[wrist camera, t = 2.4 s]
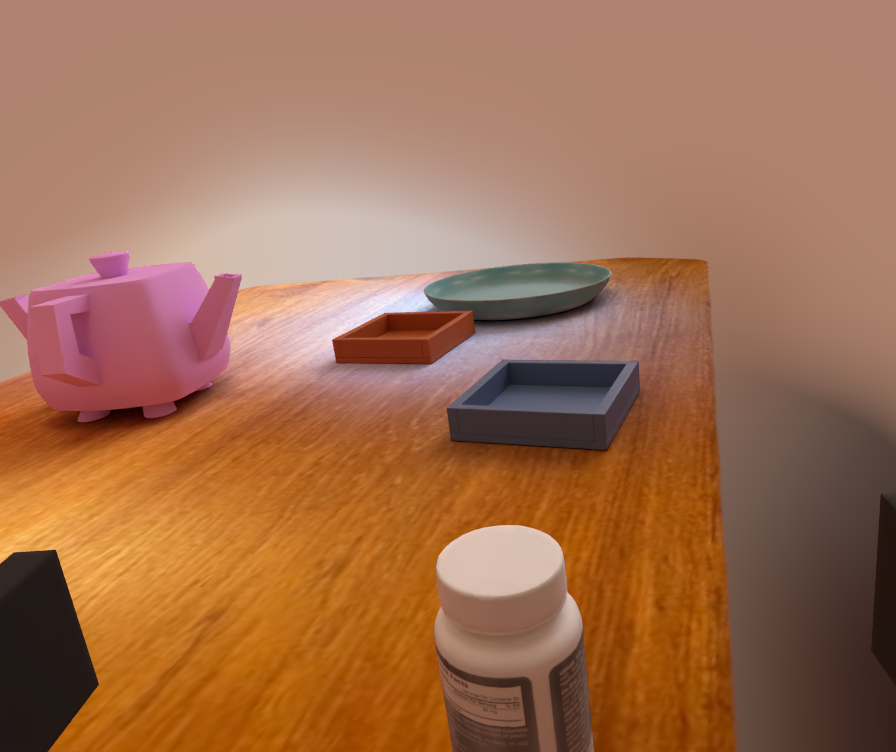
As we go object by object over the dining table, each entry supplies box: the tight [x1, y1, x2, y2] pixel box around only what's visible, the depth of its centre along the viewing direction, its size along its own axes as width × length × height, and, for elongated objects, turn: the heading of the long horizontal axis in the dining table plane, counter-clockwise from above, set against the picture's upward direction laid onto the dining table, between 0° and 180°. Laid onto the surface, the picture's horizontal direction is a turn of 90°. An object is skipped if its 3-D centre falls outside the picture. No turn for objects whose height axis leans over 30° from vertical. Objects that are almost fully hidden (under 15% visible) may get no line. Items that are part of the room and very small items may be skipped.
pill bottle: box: [434, 525, 594, 752], centre depth 24 cm, size 5×5×8 cm
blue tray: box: [447, 360, 640, 450], centre depth 56 cm, size 12×12×3 cm
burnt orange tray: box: [332, 311, 475, 364], centre depth 80 cm, size 12×12×3 cm
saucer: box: [424, 263, 611, 320], centre depth 95 cm, size 24×24×3 cm
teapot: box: [0, 251, 241, 422], centre depth 71 cm, size 19×18×15 cm
